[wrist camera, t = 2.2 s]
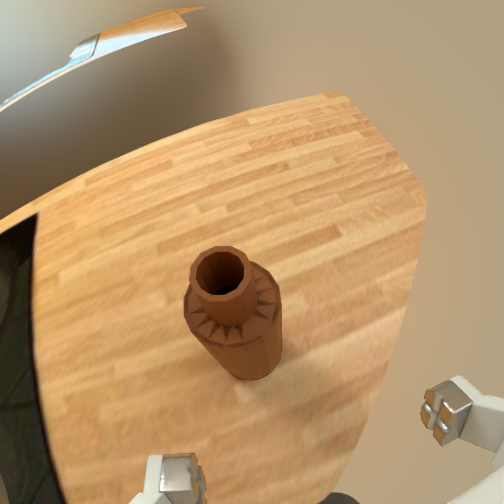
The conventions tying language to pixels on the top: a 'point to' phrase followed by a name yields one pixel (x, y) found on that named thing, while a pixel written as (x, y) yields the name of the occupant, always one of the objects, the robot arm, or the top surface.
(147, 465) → the robot arm
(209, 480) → the top surface
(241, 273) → the vase
